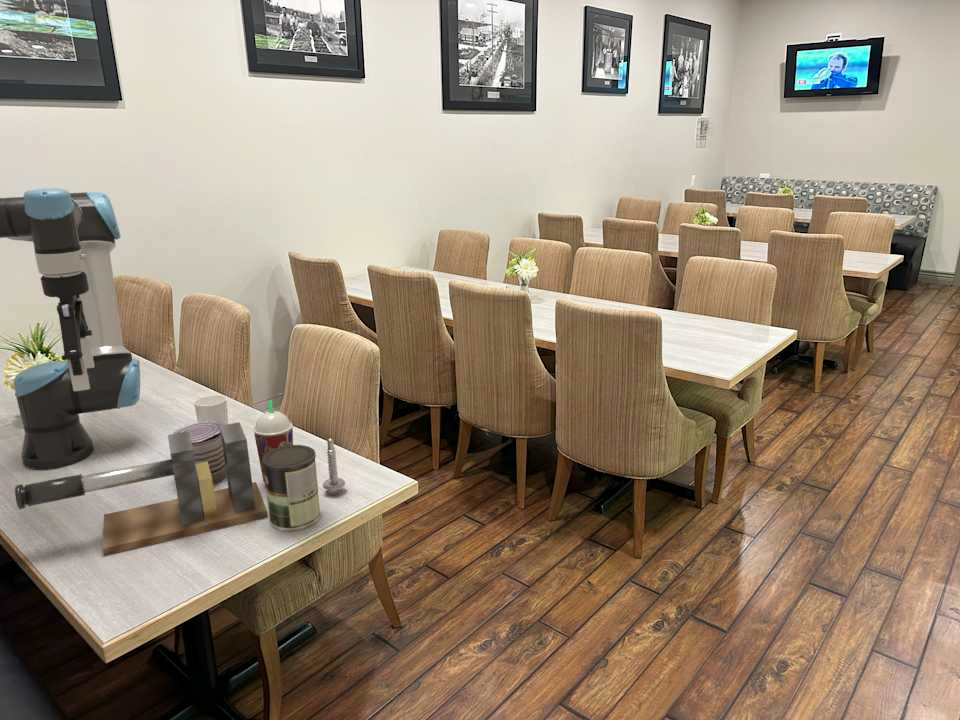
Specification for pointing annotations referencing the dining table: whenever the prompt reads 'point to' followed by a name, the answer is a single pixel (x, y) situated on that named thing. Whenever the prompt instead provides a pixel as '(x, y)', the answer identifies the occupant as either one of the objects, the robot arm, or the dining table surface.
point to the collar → (206, 489)
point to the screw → (332, 471)
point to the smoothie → (272, 433)
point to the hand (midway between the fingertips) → (84, 378)
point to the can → (208, 447)
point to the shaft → (88, 483)
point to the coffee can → (291, 487)
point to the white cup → (211, 409)
